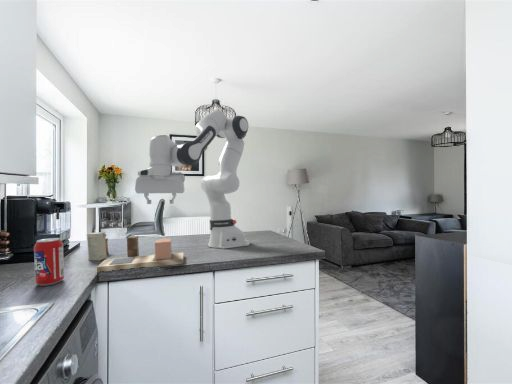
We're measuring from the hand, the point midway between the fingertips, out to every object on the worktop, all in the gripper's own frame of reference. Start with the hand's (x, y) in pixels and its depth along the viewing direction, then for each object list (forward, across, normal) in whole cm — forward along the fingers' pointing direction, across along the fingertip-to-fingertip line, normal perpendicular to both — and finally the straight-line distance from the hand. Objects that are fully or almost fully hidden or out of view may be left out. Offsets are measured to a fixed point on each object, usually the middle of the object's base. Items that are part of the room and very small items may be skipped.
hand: (160, 203), depth 116 cm
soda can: (+26, +32, +21) cm, 46 cm away
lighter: (+26, +33, -20) cm, 46 cm away
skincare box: (+26, +30, -10) cm, 41 cm away
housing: (+23, -2, +2) cm, 23 cm away
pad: (+23, +14, +4) cm, 28 cm away
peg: (+25, +14, -7) cm, 29 cm away
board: (+25, +6, +3) cm, 26 cm away
